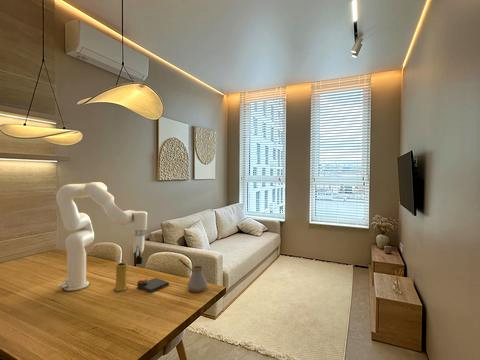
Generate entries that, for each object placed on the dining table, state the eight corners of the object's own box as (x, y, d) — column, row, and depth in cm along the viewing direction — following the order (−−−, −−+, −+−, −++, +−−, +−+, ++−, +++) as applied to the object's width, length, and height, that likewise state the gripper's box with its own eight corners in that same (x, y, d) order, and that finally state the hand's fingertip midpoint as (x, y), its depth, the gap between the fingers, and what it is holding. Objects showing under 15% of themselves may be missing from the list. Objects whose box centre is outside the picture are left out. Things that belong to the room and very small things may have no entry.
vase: (117, 286, 154) (117, 262, 154) (128, 286, 154) (128, 262, 154) (113, 291, 148) (113, 266, 148) (124, 291, 148) (125, 266, 148)
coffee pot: (211, 288, 154) (211, 263, 154) (197, 295, 144) (198, 268, 144) (185, 280, 165) (185, 256, 165) (171, 286, 156) (171, 261, 156)
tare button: (142, 283, 152) (142, 280, 152) (139, 282, 153) (139, 279, 153) (145, 281, 154) (145, 279, 154) (143, 280, 155) (143, 278, 155)
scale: (149, 293, 146) (149, 287, 146) (135, 287, 153) (135, 281, 153) (168, 285, 157) (168, 279, 157) (154, 280, 164) (154, 274, 164)
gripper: (135, 230, 160) (134, 260, 160) (130, 235, 145) (129, 268, 145) (148, 229, 161) (147, 259, 161) (144, 235, 146) (143, 268, 147)
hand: (138, 263), depth 153 cm, fingers closed
